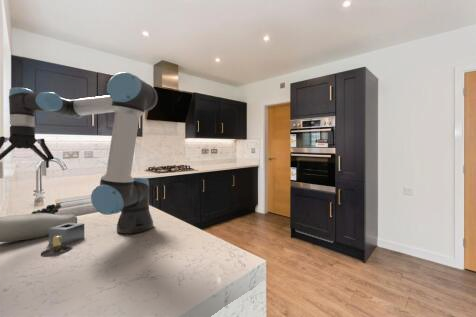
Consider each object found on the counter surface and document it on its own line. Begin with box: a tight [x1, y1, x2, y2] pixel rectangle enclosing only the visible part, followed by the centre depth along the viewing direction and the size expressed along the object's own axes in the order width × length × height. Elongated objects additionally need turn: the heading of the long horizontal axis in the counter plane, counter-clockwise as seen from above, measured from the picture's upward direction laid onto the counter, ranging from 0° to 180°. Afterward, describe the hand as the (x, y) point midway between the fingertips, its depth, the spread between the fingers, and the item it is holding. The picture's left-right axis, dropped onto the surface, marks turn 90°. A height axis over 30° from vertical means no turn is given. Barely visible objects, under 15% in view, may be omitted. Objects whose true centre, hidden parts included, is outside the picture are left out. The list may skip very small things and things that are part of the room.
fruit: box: [30, 204, 62, 214], centre depth 104 cm, size 9×8×15 cm
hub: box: [40, 235, 74, 258], centre depth 80 cm, size 9×9×5 cm
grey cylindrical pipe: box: [0, 213, 78, 243], centre depth 94 cm, size 10×10×28 cm
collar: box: [48, 222, 85, 246], centre depth 89 cm, size 8×8×6 cm
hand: (23, 176), depth 93 cm, fingers open, 13 cm apart
